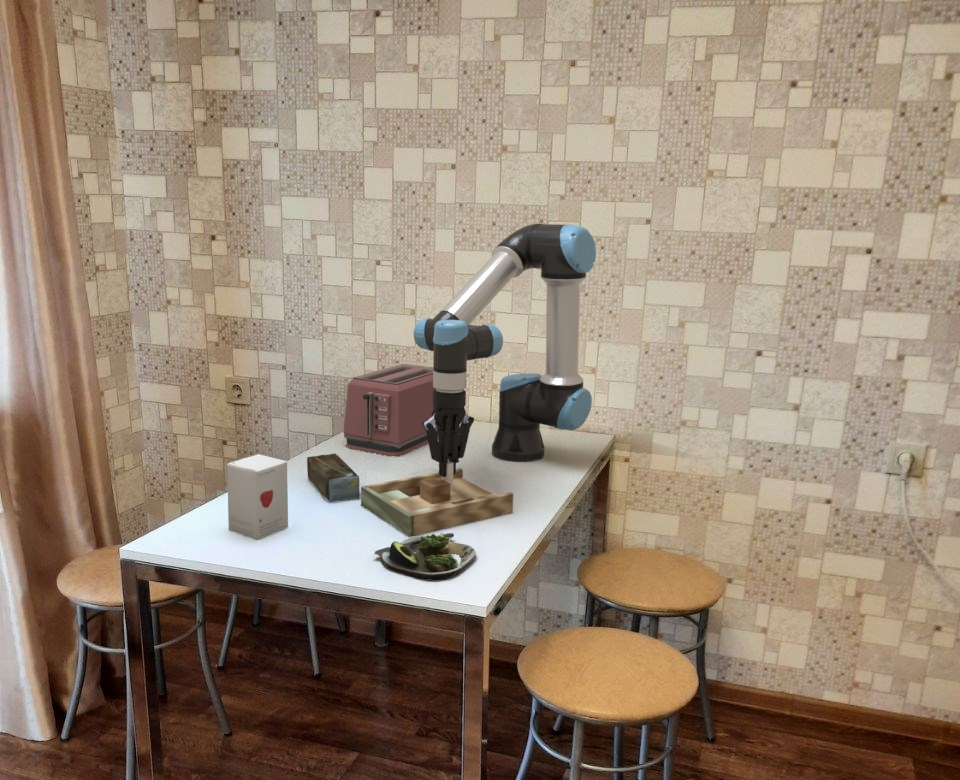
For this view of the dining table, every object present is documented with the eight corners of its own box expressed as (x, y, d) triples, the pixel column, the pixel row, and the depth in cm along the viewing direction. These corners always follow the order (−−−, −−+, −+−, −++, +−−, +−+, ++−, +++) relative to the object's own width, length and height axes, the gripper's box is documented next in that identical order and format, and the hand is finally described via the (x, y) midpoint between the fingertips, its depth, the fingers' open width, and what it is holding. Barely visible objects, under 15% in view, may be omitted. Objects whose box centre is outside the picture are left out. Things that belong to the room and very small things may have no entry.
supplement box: (257, 541, 166) (255, 471, 162) (227, 531, 170) (225, 463, 167) (289, 527, 173) (288, 460, 170) (260, 518, 178) (258, 452, 175)
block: (438, 493, 189) (438, 477, 188) (450, 500, 185) (450, 483, 184) (420, 497, 186) (420, 481, 185) (431, 504, 182) (431, 487, 181)
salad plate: (419, 533, 173) (419, 512, 172) (493, 551, 165) (493, 530, 164) (364, 566, 157) (364, 543, 156) (443, 588, 148) (443, 564, 147)
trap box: (459, 485, 203) (460, 468, 202) (512, 512, 186) (513, 493, 185) (360, 505, 187) (360, 486, 186) (408, 536, 170) (408, 516, 169)
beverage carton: (327, 504, 188) (327, 477, 187) (306, 479, 205) (305, 454, 203) (360, 499, 192) (360, 473, 190) (336, 475, 208) (336, 451, 207)
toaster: (337, 449, 231) (336, 379, 226) (401, 424, 260) (402, 361, 256) (393, 460, 222) (394, 387, 218) (453, 432, 252) (455, 368, 248)
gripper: (463, 383, 189) (461, 479, 194) (415, 388, 181) (414, 488, 186) (482, 389, 183) (479, 488, 188) (433, 395, 175) (431, 498, 180)
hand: (446, 488), depth 187 cm, fingers closed
